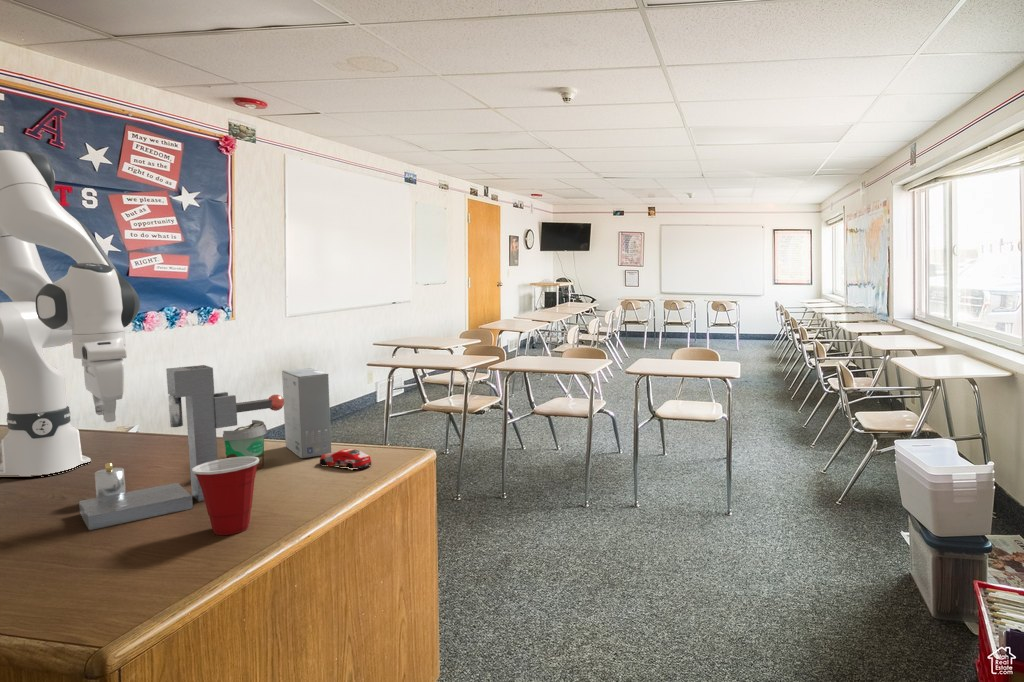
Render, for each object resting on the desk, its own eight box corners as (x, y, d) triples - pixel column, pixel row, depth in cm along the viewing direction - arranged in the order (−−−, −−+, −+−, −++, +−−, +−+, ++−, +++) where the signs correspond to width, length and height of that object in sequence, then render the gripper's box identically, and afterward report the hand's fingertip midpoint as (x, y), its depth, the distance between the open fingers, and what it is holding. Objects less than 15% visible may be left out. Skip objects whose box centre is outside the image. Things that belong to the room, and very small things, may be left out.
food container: (249, 477, 153) (247, 432, 152) (224, 475, 154) (221, 431, 153) (279, 461, 165) (277, 420, 164) (255, 460, 166) (253, 419, 165)
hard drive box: (332, 454, 170) (329, 373, 168) (301, 459, 166) (297, 376, 164) (314, 442, 183) (310, 367, 181) (284, 446, 179) (280, 369, 177)
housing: (95, 500, 139) (92, 463, 138) (123, 495, 142) (120, 458, 141) (99, 506, 135) (96, 468, 134) (128, 501, 138) (125, 463, 137)
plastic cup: (235, 514, 129) (232, 450, 128) (276, 524, 123) (272, 457, 122) (182, 534, 120) (177, 465, 118) (223, 545, 114) (219, 473, 113)
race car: (315, 466, 161) (314, 449, 161) (332, 461, 166) (331, 444, 166) (358, 473, 155) (357, 455, 155) (374, 467, 160) (374, 450, 159)
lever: (212, 417, 141) (211, 401, 141) (281, 408, 150) (280, 392, 150) (217, 420, 139) (216, 403, 138) (287, 410, 147) (286, 394, 147)
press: (80, 514, 131) (68, 376, 128) (229, 484, 147) (221, 362, 145) (89, 530, 122) (77, 383, 120) (246, 497, 139) (238, 367, 136)
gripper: (73, 345, 141) (79, 412, 143) (88, 352, 125) (95, 428, 127) (108, 342, 145) (114, 408, 147) (128, 349, 129) (134, 423, 131)
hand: (105, 417), depth 137 cm, fingers open, 8 cm apart
